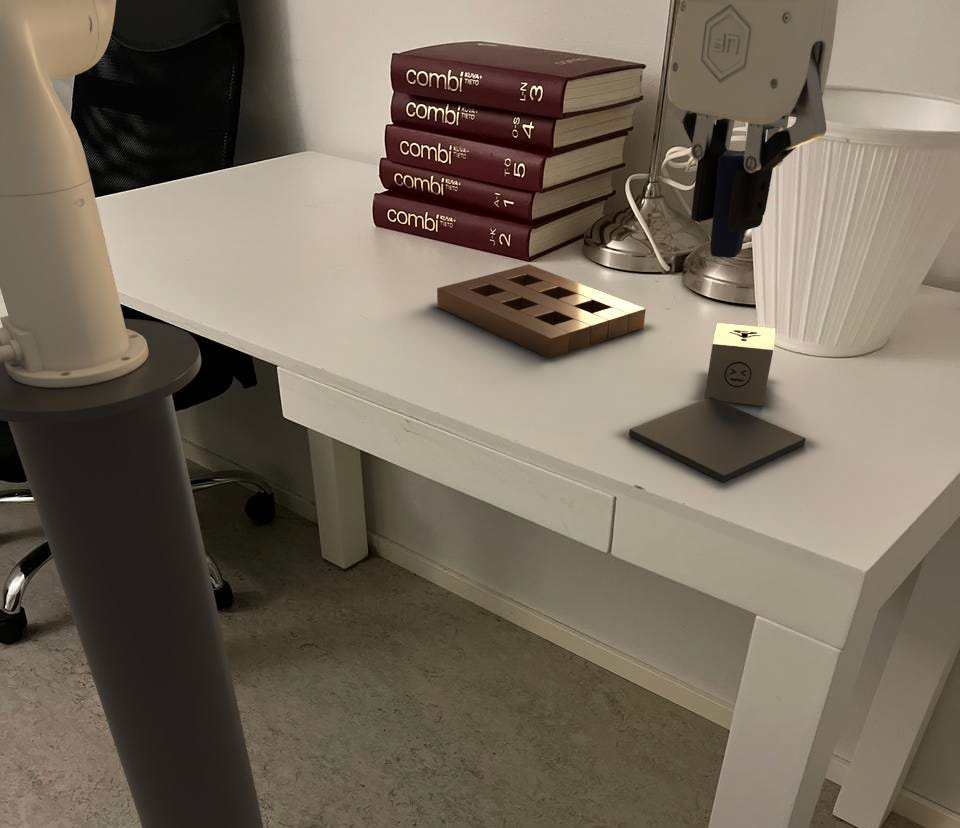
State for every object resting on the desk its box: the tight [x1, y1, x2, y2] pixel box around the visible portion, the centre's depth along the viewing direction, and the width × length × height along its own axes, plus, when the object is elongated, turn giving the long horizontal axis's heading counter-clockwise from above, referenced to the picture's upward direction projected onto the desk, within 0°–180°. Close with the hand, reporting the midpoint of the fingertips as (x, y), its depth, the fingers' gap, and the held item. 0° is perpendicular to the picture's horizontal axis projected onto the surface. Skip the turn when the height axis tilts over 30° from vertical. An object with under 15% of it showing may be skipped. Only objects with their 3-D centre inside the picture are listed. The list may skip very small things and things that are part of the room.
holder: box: [436, 264, 646, 359], centre depth 100 cm, size 13×18×2 cm
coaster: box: [628, 397, 807, 483], centre depth 78 cm, size 10×10×1 cm
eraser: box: [709, 149, 746, 259], centre depth 69 cm, size 2×2×7 cm
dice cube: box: [703, 322, 776, 407], centre depth 84 cm, size 5×5×5 cm
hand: (726, 221), depth 70 cm, fingers closed on eraser, 2 cm apart
